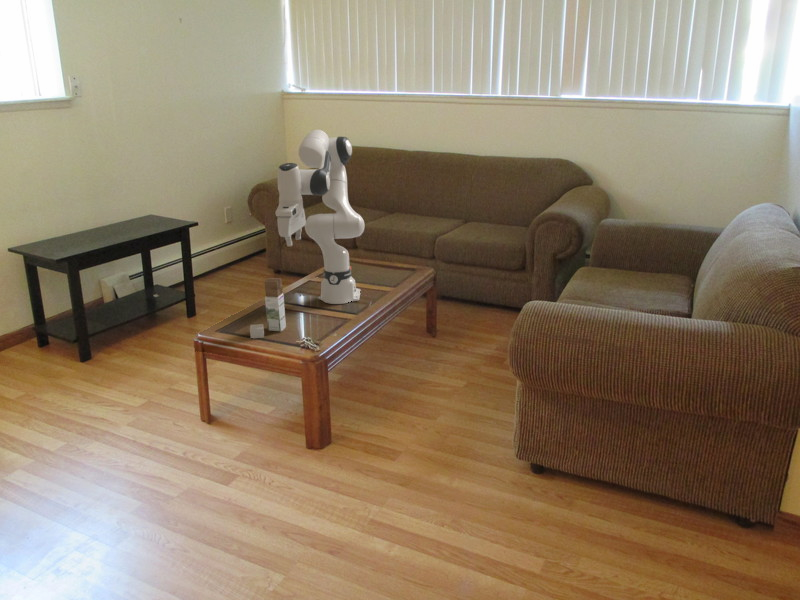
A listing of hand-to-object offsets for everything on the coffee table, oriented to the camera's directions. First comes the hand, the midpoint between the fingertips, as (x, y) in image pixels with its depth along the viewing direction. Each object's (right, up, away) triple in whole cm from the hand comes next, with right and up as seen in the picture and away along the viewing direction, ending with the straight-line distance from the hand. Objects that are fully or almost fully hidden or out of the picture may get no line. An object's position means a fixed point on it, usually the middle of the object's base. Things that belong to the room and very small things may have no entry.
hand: (294, 242), depth 263 cm
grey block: (-15, -36, +2) cm, 39 cm away
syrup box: (-8, -34, +9) cm, 36 cm away
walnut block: (-8, -20, +4) cm, 22 cm away
